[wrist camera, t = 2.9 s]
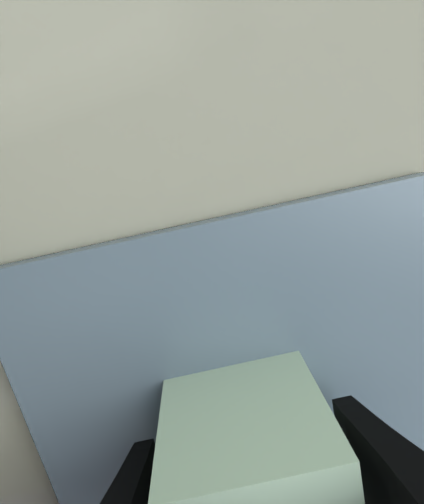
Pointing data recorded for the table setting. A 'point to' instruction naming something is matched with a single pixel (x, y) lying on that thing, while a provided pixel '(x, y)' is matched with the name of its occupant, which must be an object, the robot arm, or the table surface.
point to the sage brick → (252, 439)
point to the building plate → (216, 320)
